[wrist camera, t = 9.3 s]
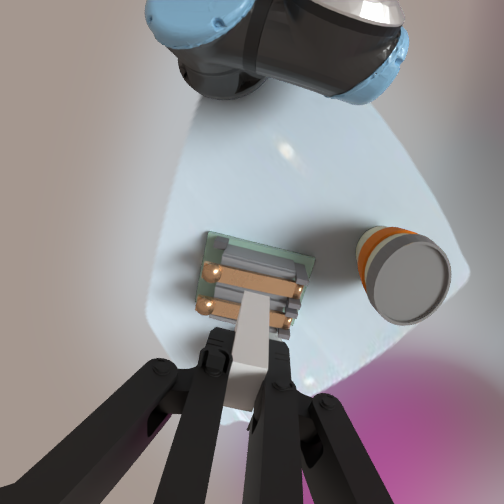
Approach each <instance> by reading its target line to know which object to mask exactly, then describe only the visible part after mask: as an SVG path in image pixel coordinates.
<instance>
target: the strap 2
mask: <svg viewBox="0 0 504 504" xmlns="http://www.w3.org/2000/svg"><path fill="white" fill-rule="evenodd" d="M240 306H241V303H236V302H231V301H227V300H222V299H218V298H213V297H209V296H205V295H200V294H198V297H197V303H196V308H195V310H196V311H197V312H198V313H200V314H201V315H210V314H213V315H218V316H222V317H227V318H231V319H236V320H237V318H238V314H239V310H240ZM292 320H293V318H290V317H285V312H280V311H275V310H270V311H269V326H271V327H277V328H282V329H284V330H289V328H290V325H291V322H292Z"/></svg>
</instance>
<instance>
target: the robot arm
mask: <svg viewBox="0 0 504 504" xmlns="http://www.w3.org/2000/svg"><path fill="white" fill-rule="evenodd" d="M145 18H146V22H147V25H148V26H149V28H150V30H151V31H152V32H153V34H154V36H155V38H156V39H157V41H158V42H160V43H161V44H162V45H165V46H166V47H167V48H168V49H169V50H170V51H171V52H173V54H174V55H175V56H176V57H177V58H178V65H179V69H180V72H181V74H182V76H183V78H184V80H185V81H186V82H187V83H188V84H189V86H191V87H192V88H193V89H194V90H195V91H197V92H198V93H200V94H202V95H204V96H206V97H209V98H213V99H219V100H229V99H235V98H239V97H242V96H245V95H247V94H249V93H251V92H253V91H254V90H256V89H257V88H259V87H260V86H261V85H262V84H263V83H264V82H265V80H266V79H267V78H268V77H270V78H273V79H277V80H280V81H284V82H287V83H290V84H293V85H296V86H299V87H302V88H305V89H308V90H311V91H314V92H317V93H319V94H322V95H324V96H325V97H327V98H331V99H338V100H341V101H344V102H347V103H350V104H353V105H364V104H367V103H369V102H372V101H373V100H375V99H376V98H378V97H379V96H380V95H381V94H382V93H383V92H384V91H385V90H386V89H387V88H388V87H389V85H390V84H391V83H392V82H393V80H394V79H395V77H396V76H397V74H398V72H399V70H400V68H399V66H400V64H401V63H402V62H403V61H404V59H405V57H406V54H407V51H408V46H409V37H408V34H407V31H406V30H405V29H404V28H403V26H402V25H403V23H404V21H405V15H404V12H403V10H402V8H401V6H400V4H399V2H398V0H147V1H146V5H145ZM269 311H270V297H269V296H265V295H261V294H257V293H253V292H248V291H244V295H243V299H242V303H241V306H240V310H239V314H238V318H237V322H236V326H235V329H234V331H231V330H227V329H223V328H219V327H216V328H214V329H213V330H212V331H210V334H209V337H208V340H207V344H206V346H205V348H203V349H202V350H201V351H200V355H199V360H198V365H197V366H196V367H194V368H190V369H177V367H176V365H175V364H174V363H173V362H171V361H170V360H167V359H162V358H156V359H151V360H150V361H148V362H147V363H146V364H145V365H144V366H143V367H142V368H140V369H139V370H138V371H137V372H136V373H135V374H134V375H133V376H132V377H131V378H130V379H129V380H127V381H126V382H125V383H124V384H123V385H122V386H121V387H120V388H119V389H118V390H117V391H116V392H114V393H113V394H112V395H111V396H110V397H109V398H108V399H107V400H106V401H105V402H104V403H102V404H101V405H100V406H99V407H98V408H97V409H96V410H95V411H94V412H93V413H92V414H91V415H89V416H88V417H87V418H86V419H85V420H84V421H83V422H82V423H81V424H80V425H79V426H77V427H76V428H75V429H74V430H73V431H72V432H71V433H70V434H69V435H67V436H66V437H65V438H64V439H63V440H62V441H61V442H60V443H59V444H58V445H57V446H55V447H54V448H53V449H52V450H51V451H50V452H49V453H48V454H47V455H45V456H44V457H43V458H42V459H41V460H40V461H39V462H38V463H37V464H35V465H34V466H33V467H32V468H31V469H30V470H29V471H28V472H27V473H25V474H24V475H23V476H22V477H21V478H20V479H19V480H18V481H16V482H15V483H13V484H10V485H7V486H4V487H1V488H0V504H100V503H101V502H102V501H103V499H104V498H105V497H106V496H107V495H108V494H109V492H110V491H111V490H112V489H113V488H114V486H115V485H116V484H117V483H118V482H119V480H120V479H121V478H122V477H123V476H124V474H125V473H126V472H127V471H128V470H129V468H130V467H131V466H132V465H133V463H134V462H135V461H136V460H137V459H138V457H139V456H140V455H141V453H142V452H143V451H144V450H145V449H146V447H147V446H148V445H149V444H150V442H151V441H152V440H153V439H154V437H155V436H156V435H157V434H158V432H159V431H160V430H161V429H162V427H163V426H164V425H165V423H166V422H167V421H168V420H169V418H170V417H171V415H172V414H182V415H181V418H180V421H179V424H178V427H177V430H176V433H175V436H174V440H173V443H172V446H171V449H170V452H169V455H168V458H167V461H166V465H165V468H164V471H163V474H162V477H161V481H160V484H159V487H158V490H157V493H156V497H155V500H154V503H153V504H204V503H205V498H206V493H207V488H208V483H209V477H210V472H211V467H212V462H213V456H214V451H215V446H216V440H217V435H218V430H219V425H220V419H221V414H222V409H223V406H226V407H230V408H235V409H239V410H244V411H249V412H252V410H253V407H254V413H253V416H252V418H251V421H250V423H249V425H248V428H247V431H249V430H250V432H249V443H248V452H247V463H246V472H245V483H244V492H243V501H242V504H303V487H302V470H303V473H304V476H305V479H306V481H307V484H308V487H309V490H310V493H311V496H312V499H313V501H314V504H394V503H393V501H392V499H391V497H390V495H389V493H388V491H387V489H386V487H385V486H384V483H383V482H382V480H381V478H380V476H379V474H378V472H377V470H376V468H375V466H374V465H373V463H372V461H371V459H370V457H369V455H368V453H367V451H366V449H365V448H364V446H363V444H362V442H361V440H360V438H359V436H358V434H357V432H356V431H355V429H354V427H353V425H352V423H351V421H350V419H349V417H348V416H347V414H346V412H345V410H344V408H343V406H342V404H341V402H340V401H339V400H338V399H337V398H336V397H334V396H333V395H330V394H326V393H320V394H317V395H315V396H314V398H311V397H309V396H306V395H304V394H302V393H300V392H299V391H297V390H296V386H295V384H294V383H293V382H292V380H291V369H290V357H289V356H290V355H289V348H288V346H287V345H286V343H285V342H282V341H277V340H272V339H269Z"/></svg>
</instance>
